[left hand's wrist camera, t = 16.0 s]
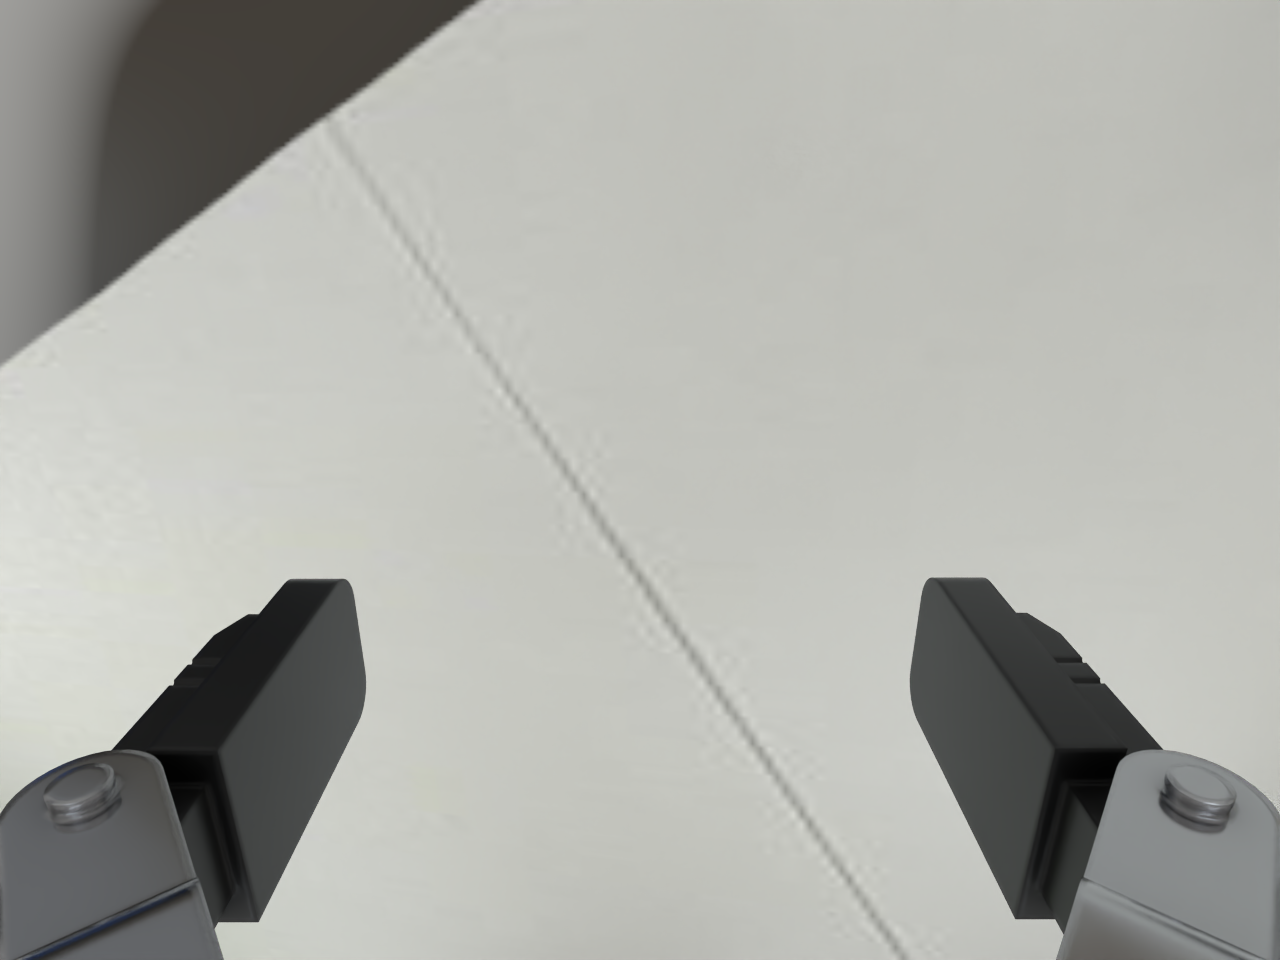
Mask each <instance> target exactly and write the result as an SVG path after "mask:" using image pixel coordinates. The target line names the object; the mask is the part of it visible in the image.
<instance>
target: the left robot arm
mask: <svg viewBox="0 0 1280 960" xmlns="http://www.w3.org/2000/svg"><path fill="white" fill-rule="evenodd" d="M365 693H366V674H365V667H364V660H363V653H362V646H361V640H360V633H359V626H358V620H357V613H356V606H355V599H354V594H353V590H352V587H351V585H350V583H349V582H348V581H347V580H346V579H290V580H288V581H287V582H286V583H285V584H284V585H283V586H282V587H281V588H280V590H279V591H278V592H277V593H276V594H275V596H274V597H273V598H272V599H271V600H270V602H269V603H268V604H267V605H266V606H265V608H264V609H263V610H262V611H261V612H260V614H248V615H246V616H245V617H243V618H241V619H240V620H238V621H236V622H235V623H233V624H232V625H230V626H228V627H227V628H225V629H224V630H222V631H220V632H219V633H217V634H215V635H214V636H213V637H212V638H211V639H210V640H209V642H208V643H207V644H206V645H205V646H204V647H203V648H202V649H201V651H200V652H199V653H198V654H197V655H196V656H195V657H194V658H193V660H192V665H187V666H186V667H185V668H184V670H183V671H182V672H181V673H180V674H179V675H178V676H177V677H176V679H175V680H174V685H173V686H168V688H167V689H166V690H165V691H164V692H163V693H162V694H161V695H160V697H159V698H158V699H157V700H156V701H155V702H154V703H153V704H152V705H151V707H150V708H149V709H148V710H147V711H146V712H145V713H144V714H143V716H142V717H141V718H140V719H139V720H138V721H137V722H136V723H135V725H134V726H133V727H132V728H131V729H130V730H129V731H128V732H127V733H126V735H125V736H124V737H123V738H122V739H121V740H120V741H119V742H118V744H117V745H116V746H115V747H114V748H113V749H112V750H111V751H104V752H100V753H95V754H91V755H87V756H84V757H81V758H78V759H75V760H73V761H70V762H67V763H65V764H63V765H61V766H58V767H56V768H54V769H52V770H50V771H48V772H47V773H45V774H43V775H42V776H40V777H38V778H37V779H35V780H34V781H32V782H31V783H30V784H28V785H27V786H25V787H24V788H23V789H22V790H21V791H19V792H18V793H17V794H16V795H15V796H14V797H13V798H12V799H11V800H10V801H9V802H8V804H7V805H6V806H5V808H4V809H3V811H2V812H1V814H0V960H224V959H223V955H222V952H221V949H220V946H219V942H218V939H217V936H216V933H215V927H216V925H217V923H218V922H259V920H260V918H261V916H262V914H263V912H264V910H265V908H266V906H267V904H268V902H269V900H270V898H271V896H272V894H273V892H274V890H275V888H276V886H277V884H278V882H279V880H280V878H281V876H282V874H283V872H284V870H285V868H286V866H287V864H288V862H289V860H290V858H291V856H292V854H293V852H294V850H295V848H296V846H297V844H298V842H299V840H300V838H301V836H302V834H303V832H304V830H305V828H306V826H307V824H308V822H309V820H310V818H311V816H312V814H313V812H314V810H315V808H316V806H317V804H318V802H319V800H320V798H321V796H322V794H323V792H324V790H325V788H326V786H327V784H328V782H329V780H330V778H331V776H332V774H333V772H334V770H335V768H336V766H337V764H338V762H339V760H340V758H341V756H342V754H343V752H344V750H345V748H346V746H347V744H348V742H349V740H350V738H351V736H352V734H353V732H354V730H355V728H356V726H357V724H358V722H359V720H360V717H361V714H362V711H363V707H364V701H365ZM910 693H911V700H912V706H913V710H914V713H915V716H916V718H917V721H918V723H919V725H920V727H921V729H922V731H923V733H924V735H925V737H926V739H927V741H928V743H929V745H930V747H931V749H932V751H933V753H934V755H935V757H936V759H937V761H938V763H939V765H940V767H941V769H942V771H943V773H944V775H945V777H946V779H947V781H948V784H949V786H950V788H951V790H952V792H953V794H954V796H955V798H956V800H957V802H958V804H959V806H960V808H961V810H962V812H963V814H964V816H965V818H966V820H967V822H968V824H969V826H970V828H971V830H972V832H973V834H974V836H975V838H976V840H977V842H978V844H979V846H980V848H981V850H982V852H983V854H984V857H985V859H986V861H987V863H988V865H989V867H990V869H991V871H992V873H993V875H994V877H995V879H996V881H997V883H998V885H999V887H1000V889H1001V891H1002V893H1003V895H1004V897H1005V899H1006V901H1007V903H1008V905H1009V907H1010V909H1011V911H1012V913H1013V915H1014V917H1015V919H1056V921H1057V923H1058V925H1059V927H1060V929H1061V930H1062V932H1063V934H1064V936H1063V939H1062V942H1061V946H1060V949H1059V952H1058V955H1057V959H1056V960H1280V814H1279V812H1278V811H1277V809H1276V808H1275V806H1274V805H1273V804H1272V802H1271V801H1270V800H1269V799H1268V798H1267V797H1266V796H1265V795H1264V794H1263V793H1262V792H1260V791H1259V790H1258V789H1257V788H1256V787H1255V786H1253V785H1252V784H1250V783H1249V782H1248V781H1246V780H1245V779H1243V778H1242V777H1240V776H1238V775H1237V774H1235V773H1233V772H1232V771H1230V770H1228V769H1226V768H1224V767H1222V766H1219V765H1217V764H1215V763H1213V762H1210V761H1207V760H1205V759H1202V758H1199V757H1196V756H1193V755H1189V754H1185V753H1180V752H1176V751H1168V750H1163V749H1162V748H1161V747H1160V746H1159V744H1158V743H1157V742H1156V741H1155V740H1154V739H1153V738H1152V736H1151V735H1150V734H1149V733H1148V732H1147V731H1146V730H1145V729H1144V727H1143V726H1142V725H1141V724H1140V723H1139V722H1138V721H1137V719H1136V718H1135V717H1134V716H1133V715H1132V714H1131V713H1130V712H1129V710H1128V709H1127V708H1126V707H1125V706H1124V705H1123V704H1122V703H1121V701H1120V700H1119V699H1118V698H1117V697H1116V696H1115V695H1114V693H1113V692H1112V691H1111V690H1110V689H1109V688H1108V687H1107V686H1106V684H1101V683H1100V678H1099V677H1098V675H1097V674H1096V673H1095V672H1094V671H1093V670H1092V669H1091V667H1090V666H1089V665H1088V664H1087V663H1083V662H1082V657H1081V656H1080V655H1079V654H1078V653H1077V652H1076V651H1075V649H1074V648H1073V647H1072V646H1071V645H1070V644H1069V643H1068V641H1067V640H1066V639H1065V638H1064V637H1063V636H1062V635H1061V634H1060V633H1059V632H1057V631H1055V630H1054V629H1052V628H1051V627H1049V626H1047V625H1046V624H1044V623H1043V622H1041V621H1039V620H1038V619H1036V618H1034V617H1033V616H1031V615H1030V614H1028V613H1016V612H1015V611H1014V610H1013V609H1012V607H1011V606H1010V605H1009V604H1008V603H1007V601H1006V600H1005V599H1004V598H1003V597H1002V595H1001V594H1000V593H999V592H998V590H997V589H996V588H995V587H994V586H993V584H992V583H991V582H990V581H989V580H988V579H986V578H929V579H928V580H927V581H926V583H925V585H924V588H923V591H922V596H921V603H920V610H919V616H918V623H917V630H916V637H915V644H914V651H913V657H912V664H911V672H910Z"/></svg>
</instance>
